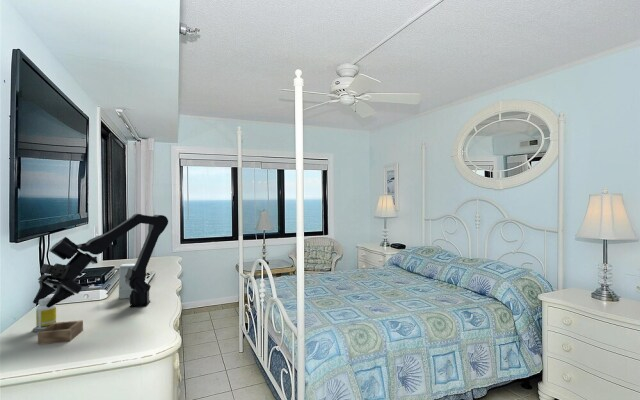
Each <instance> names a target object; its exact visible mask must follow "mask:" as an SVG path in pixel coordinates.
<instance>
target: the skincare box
mask: <svg viewBox="0 0 640 400" xmlns="http://www.w3.org/2000/svg"><path fill="white" fill-rule="evenodd" d="M135 264H136V263H123V264H121V265H119V277H118V278H119V279H118V300H119V299H120V300H121V299H130V295H131V291H132V290H133V289H131V287H130V286H128V285H127V284H126V282H125V279H126V278H125V275H126V274H127V271H128V268H131V269H132V268H133V267H134V266H135Z"/></svg>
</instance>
